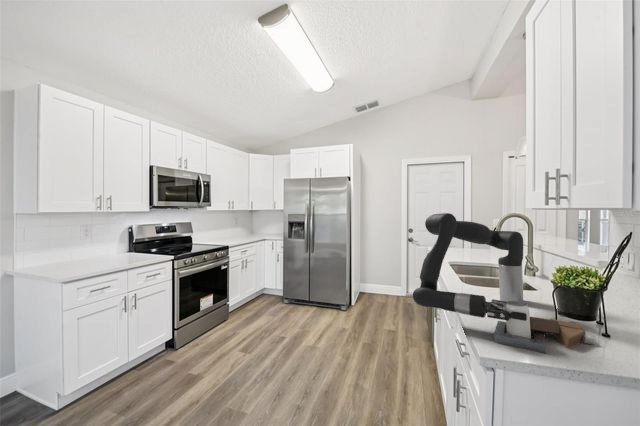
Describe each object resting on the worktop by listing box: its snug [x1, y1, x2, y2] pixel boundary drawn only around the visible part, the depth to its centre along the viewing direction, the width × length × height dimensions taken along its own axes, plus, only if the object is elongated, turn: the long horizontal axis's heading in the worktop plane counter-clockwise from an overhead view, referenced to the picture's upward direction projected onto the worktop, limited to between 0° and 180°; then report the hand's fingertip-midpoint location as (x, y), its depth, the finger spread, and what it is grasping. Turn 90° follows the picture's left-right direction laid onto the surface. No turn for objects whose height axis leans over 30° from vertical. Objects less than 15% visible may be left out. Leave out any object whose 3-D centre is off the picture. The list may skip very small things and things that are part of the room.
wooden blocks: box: [530, 316, 596, 349], centre depth 89 cm, size 8×13×18 cm
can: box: [505, 301, 532, 338], centre depth 90 cm, size 6×6×12 cm
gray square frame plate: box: [493, 320, 547, 354], centre depth 90 cm, size 14×13×2 cm
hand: (526, 313), depth 88 cm, fingers open, 7 cm apart
